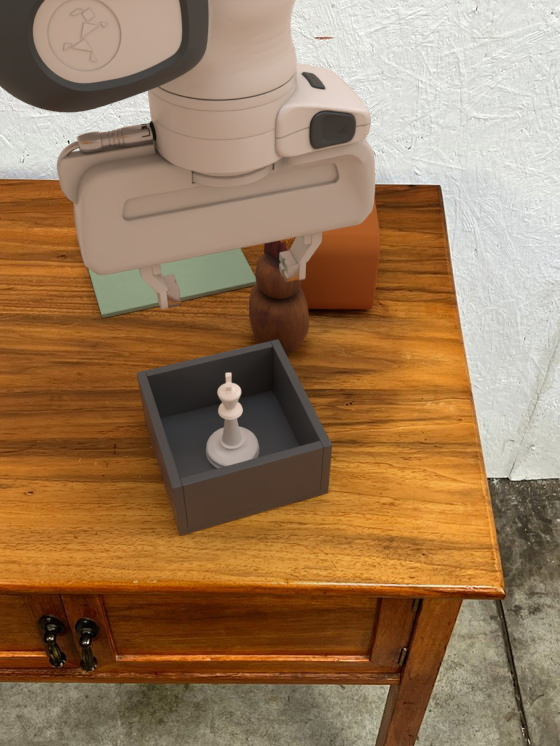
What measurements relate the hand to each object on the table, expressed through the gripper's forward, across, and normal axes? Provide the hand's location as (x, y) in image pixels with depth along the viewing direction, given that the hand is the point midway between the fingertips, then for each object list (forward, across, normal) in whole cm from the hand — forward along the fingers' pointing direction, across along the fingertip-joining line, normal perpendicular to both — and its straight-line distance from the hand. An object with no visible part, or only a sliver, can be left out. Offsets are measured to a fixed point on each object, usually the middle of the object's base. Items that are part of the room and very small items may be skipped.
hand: (231, 289), depth 57 cm
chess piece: (+20, 0, +1) cm, 20 cm away
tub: (+20, 0, +1) cm, 20 cm away
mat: (+20, 0, +32) cm, 38 cm away
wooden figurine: (+20, +8, +14) cm, 26 cm away
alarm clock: (+20, +20, +27) cm, 39 cm away
